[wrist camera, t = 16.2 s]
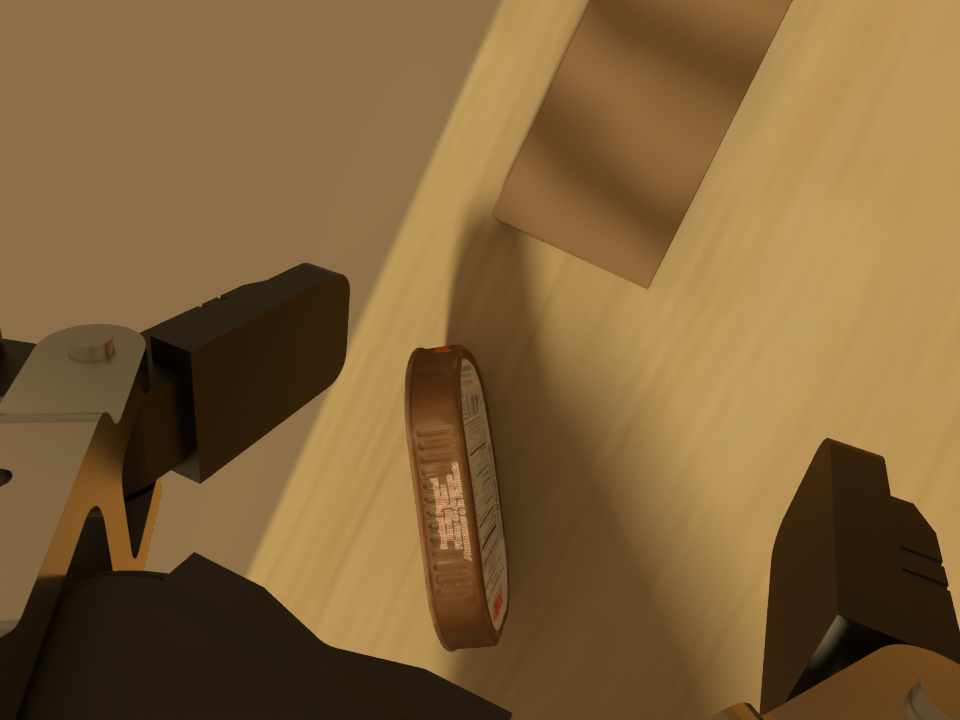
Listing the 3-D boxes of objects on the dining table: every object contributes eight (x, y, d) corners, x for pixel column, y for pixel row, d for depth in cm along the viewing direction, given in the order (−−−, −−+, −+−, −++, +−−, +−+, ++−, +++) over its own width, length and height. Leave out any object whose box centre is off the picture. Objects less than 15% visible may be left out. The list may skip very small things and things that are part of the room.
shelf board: (699, -216, 35) (702, -241, 33) (874, -164, 33) (885, -188, 31) (497, 220, 38) (491, 215, 36) (647, 289, 36) (648, 287, 34)
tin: (436, 348, 39) (381, 349, 30) (490, 340, 38) (448, 340, 30) (471, 611, 39) (425, 684, 30) (525, 609, 38) (494, 683, 30)
